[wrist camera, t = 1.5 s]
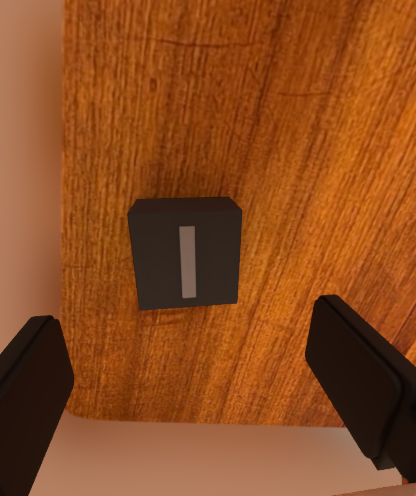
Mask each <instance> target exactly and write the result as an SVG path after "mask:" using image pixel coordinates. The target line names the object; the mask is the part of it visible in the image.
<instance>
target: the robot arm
mask: <svg viewBox="0 0 416 496" xmlns="http://www.w3.org/2000/svg"><path fill="white" fill-rule="evenodd" d="M305 358H306V361H307V363H308V365H309V367H310V368H311V370H312V372H313V373H314V375H315V376H316V378H317V380H318V381H319V383H320V385H321V386H322V388H323V390H324V391H325V393H326V394H327V396H328V398H329V399H330V401H331V403H332V404H333V406H334V407H335V409H336V411H337V412H338V414H339V416H340V417H341V419H342V421H343V422H344V424H345V425H346V427H347V429H348V430H349V432H350V434H351V435H352V437H353V438H354V440H355V442H356V443H357V445H358V447H359V448H360V450H361V452H362V453H363V454H364V455H365V456H366V457H367V458H370V459H371V460H372V462H373V464H374V465H375V467H376V469H377V470H384V469H390V468H394V467H396V468H397V469H398V471H399V472H400V474H401V475H402V485H397V486H390V487H383V488H377V489H371V490H365V491H360V492H353V493H347V494H341V495H334V496H416V367H415V366H414V365H413V364H412V363H411V362H410V361H409V360H408V359H406V358H405V357H404V356H403V355H402V354H401V353H400V352H399V351H398V350H397V349H396V348H394V347H393V346H392V345H391V344H390V343H389V342H388V341H387V340H386V339H385V338H384V337H383V336H381V335H380V334H379V333H378V332H377V331H376V330H375V329H374V328H373V327H372V326H371V325H369V324H368V323H367V322H366V321H365V320H364V319H363V318H362V317H361V316H360V315H359V314H357V313H356V312H355V311H354V310H353V309H352V308H351V307H350V306H349V305H348V304H347V303H345V302H344V301H343V300H342V299H341V298H340V297H339V296H338V295H335V294H333V295H321V296H319V298H318V299H317V300H315V302H314V307H313V313H312V318H311V323H310V329H309V334H308V340H307V345H306V350H305ZM73 386H74V373H73V370H72V366H71V362H70V359H69V355H68V351H67V347H66V344H65V340H64V336H63V333H62V329H61V325H60V322H59V320H58V319H54V317H53V316H51V315H47V316H34V317H31V318H30V319H29V320H28V321H27V323H26V324H25V325H24V326H23V328H22V329H21V330H20V331H19V332H18V333H17V335H16V336H15V337H14V338H13V339H12V341H11V342H10V343H9V344H8V346H7V347H6V348H5V349H4V350H3V352H2V353H1V354H0V496H28V495H29V493H30V490H31V488H32V485H33V483H34V481H35V478H36V476H37V473H38V471H39V469H40V466H41V464H42V461H43V459H44V456H45V454H46V452H47V449H48V447H49V444H50V442H51V440H52V437H53V435H54V432H55V430H56V428H57V425H58V423H59V420H60V418H61V415H62V413H63V411H64V408H65V406H66V403H67V401H68V399H69V396H70V394H71V391H72V389H73Z"/></svg>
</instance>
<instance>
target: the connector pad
mask: <svg viewBox="0 0 416 496" xmlns="http://www.w3.org/2000/svg"><path fill="white" fill-rule="evenodd" d="M127 216H128V224H129V232H130V240H131V247H132V255H133V263H134V271H135V279H136V287H137V295H138V303H139V310H154V309H168V308H182V307H195V306H209V305H223V304H236V303H237V300H238V282H239V263H240V245H241V227H242V209H241V208H240V207H239V206H238V205H237V204H236V203H235V202H234V201H233V200H232V199H231V198H230V197H202V198H161V199H137V200H136V201H135V203H134V204H133V206H132V207H131V209H130V211H129V212H128V214H127Z"/></svg>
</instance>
